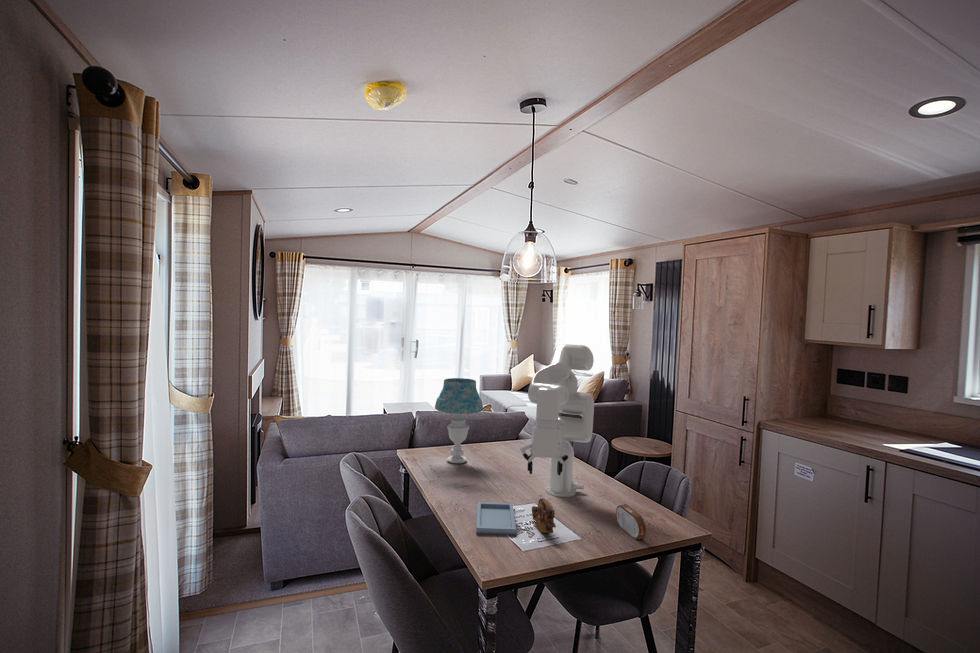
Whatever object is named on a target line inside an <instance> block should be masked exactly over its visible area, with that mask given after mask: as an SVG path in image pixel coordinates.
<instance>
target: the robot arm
mask: <svg viewBox="0 0 980 653" xmlns="http://www.w3.org/2000/svg"><path fill="white" fill-rule="evenodd" d="M594 359H595V358H594V355H593V351H592V350H591V349H590V348H589V346H586V345H583V344H569V343H568V344H566V343H563V344H559V345H557V346H556V347H555V348H554V350H553V351H552V354H551V360H550V362H549V365H547V366H545V367H543V368H542V369H540V370H538V371H536V372H535V374H534V375H533V376H532V378H531V381H530V383H529V387H528V391H527V397H528V400H529V401H530V403H532V404H535V405H536V413H535V414H536V416H535V417H536V418H535V425H533V428H532V431H531V436H530V437H531V439H530V443H528V444H526V445H523V446H522V447H520V453H521V454H522V457H523V458H524V459H525V461H527V471H528V472H529V474H530V475H532V474H533V460H534V459H535V458H545V459H547V458H548V459H550V466H549V467H550V469H549V470H550V471H549V484H548V485H547V486H545V492H546V493H547V494H549V495H551V496H553V497H559V498H569V497H571V498H572V497H573V496H575V495H576V494H577V490H584V489H585V485H584V484H580V482H574V478H573V477H574V460H575V450H574V448H573V445H572V444H571V442H575V443H576V442H577V443H589V442H590V441H591V440H592V436H593V431H594V430H593V429H594V414H595V400H594V396H593V395H592V394H591V393H588V392H579V391H578V381H579V380H578V378H577V376H576V375H575V373H574V372H573V371H586V372H587V371H591V369H592V368H593V365H594V362H595V360H594ZM572 370H573V371H572ZM556 383H557V384H556ZM560 413H561V414H565V415H573V416H575V415H577V416H581V418H578V417H572V416H559V414H560ZM527 450H530V454H528V453H526V452H527Z"/></svg>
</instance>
